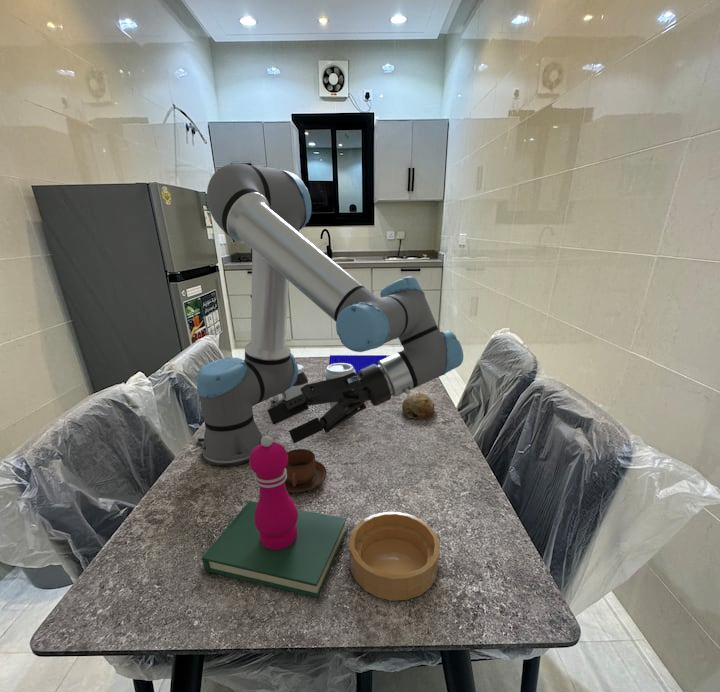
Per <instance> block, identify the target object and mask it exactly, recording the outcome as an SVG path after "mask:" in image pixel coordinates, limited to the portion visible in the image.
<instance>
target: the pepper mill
mask: <svg viewBox="0 0 720 692" xmlns="http://www.w3.org/2000/svg"><path fill="white" fill-rule="evenodd" d="M287 452H288V451H287V449H286V448H285V447H284V446H283V445H282V444H281V443H279V442H275V441H273V438H272V437H271V435H263V437H262V439H261V444H259V445H257V446H256V447H255V448H254V449H253V450H252V452H251V454H250V458H249V461H248V462H249V467H250V470H251V471H252V472H253V473H254V478H255V480H254V481H255V484H256V485H257V486H258V487H259V498H258V501H257V502H258V504H257V507H256V510H255V516H254V520H255V526H256V528H257V529H258V530H259V531H260V540H261V543H262V545H263V546H264V547H266V548H268V549H271V550H280V549H283V548H286V547H288V546H290V545H291V544H292V543H293V542H294V541H295V539H296V537H297V529H296V522H297V520H298V512H297V510H298V509H297V508H298V507H297V505H296V503H295V501H294V500H293V499H292V497H291V496H290V494H289V492H288V491H287V490H286V486H285V480H286V479H287V474H286V473H287V470H286V466H287V464H288V454H287Z"/></svg>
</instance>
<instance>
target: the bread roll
mask: <svg viewBox="0 0 720 692" xmlns="http://www.w3.org/2000/svg"><path fill="white" fill-rule="evenodd" d="M401 408H402V412H403V414H404V416H406V417H407V418H409V419H415V420H428V419H431V418H432V417H433V416H434V413H435V402H434V400H433V399H432V398H431V397H430V396H428V395H427V394H425V393H422V392H418V393H415V394H412V395H407V397H405V398H404V400H403V402H402V403H401Z"/></svg>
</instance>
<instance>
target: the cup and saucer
mask: <svg viewBox="0 0 720 692" xmlns="http://www.w3.org/2000/svg"><path fill="white" fill-rule="evenodd" d="M287 454H288V464H287V466H286V470H287V473H286V474H287V479H286V480H285V486H286V490H287V492H288V493H303V492H307V491H311V490H314V489H315V488H317V487H318V486H320V485H321V484H322V483H323V482H324V481H325V480H326V477H327V468H326V466H325V465H324V464H323V463H321V462H320V461H317V460H316V455H315V453H314V452H313V451H311V450H310V449H307V448H306V449H305V448H295V449H293V450H289V451H287Z"/></svg>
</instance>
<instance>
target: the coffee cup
mask: <svg viewBox="0 0 720 692" xmlns="http://www.w3.org/2000/svg"><path fill="white" fill-rule="evenodd" d="M353 372H355V373H356V371H355V369H354V368H353V366H352V365H351V364H347V363H335V364H331V365H329V364H328V365H327V366H326V368H325V370H324V373H323V376H324V377H325V380H329V379H333V378H338V377H342V376H345V375H348V374H350V373H353ZM337 403H338V402H332V403H329V408H330V409H331V408H332V407H333V406H335V405H336V404H337ZM330 409H329V410H330Z"/></svg>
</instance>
